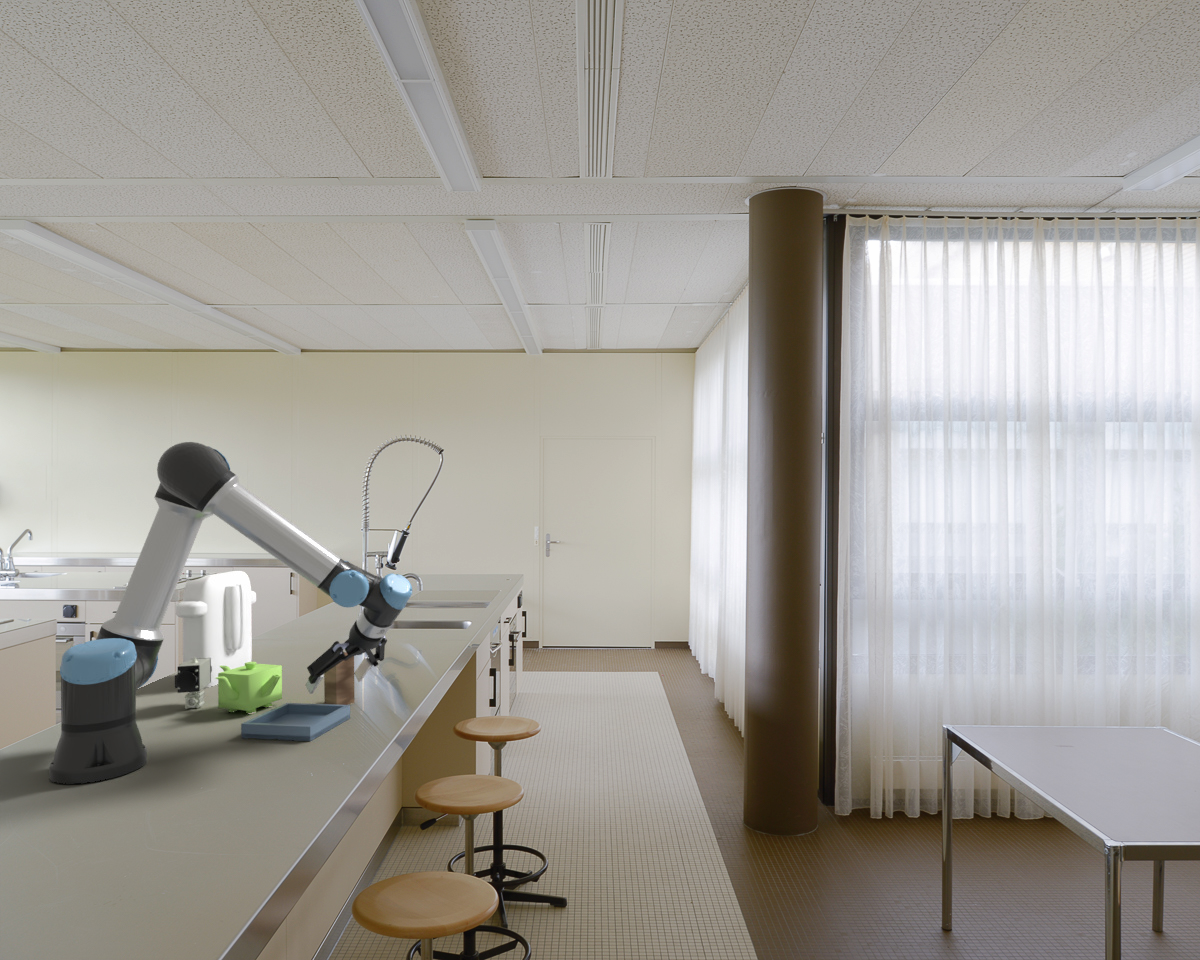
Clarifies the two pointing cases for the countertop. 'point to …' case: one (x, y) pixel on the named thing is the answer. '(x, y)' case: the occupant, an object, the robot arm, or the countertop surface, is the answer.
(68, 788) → the countertop surface
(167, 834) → the countertop surface
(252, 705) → the kettle
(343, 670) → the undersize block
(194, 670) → the pneumatic valve
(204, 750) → the countertop surface
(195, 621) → the toaster
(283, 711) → the tray
